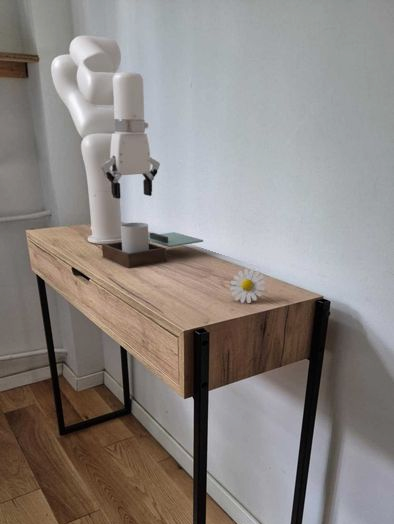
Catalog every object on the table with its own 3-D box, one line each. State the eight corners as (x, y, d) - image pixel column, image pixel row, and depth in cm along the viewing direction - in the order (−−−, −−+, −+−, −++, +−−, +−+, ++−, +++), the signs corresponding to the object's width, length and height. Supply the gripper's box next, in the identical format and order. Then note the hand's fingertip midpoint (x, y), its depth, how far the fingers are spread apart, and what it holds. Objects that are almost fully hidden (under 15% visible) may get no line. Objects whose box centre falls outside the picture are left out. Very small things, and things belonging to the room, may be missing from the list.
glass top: (141, 238, 142) (141, 231, 141) (174, 233, 148) (173, 227, 147) (169, 247, 131) (169, 239, 130) (203, 241, 137) (203, 234, 136)
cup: (127, 262, 128) (125, 228, 125) (116, 254, 137) (114, 222, 133) (152, 259, 131) (151, 226, 127) (141, 251, 139) (139, 220, 136)
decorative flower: (226, 253, 109) (262, 269, 96) (243, 270, 112) (280, 287, 100) (205, 280, 109) (238, 299, 97) (222, 296, 113) (256, 316, 100)
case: (102, 257, 136) (101, 244, 134) (138, 251, 142) (137, 239, 141) (128, 268, 125) (127, 254, 124) (165, 261, 132) (165, 248, 130)
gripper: (150, 127, 132) (152, 192, 139) (92, 127, 122) (97, 197, 130) (165, 128, 126) (166, 196, 134) (106, 128, 117) (110, 201, 125)
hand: (132, 196), depth 132 cm, fingers open, 9 cm apart
